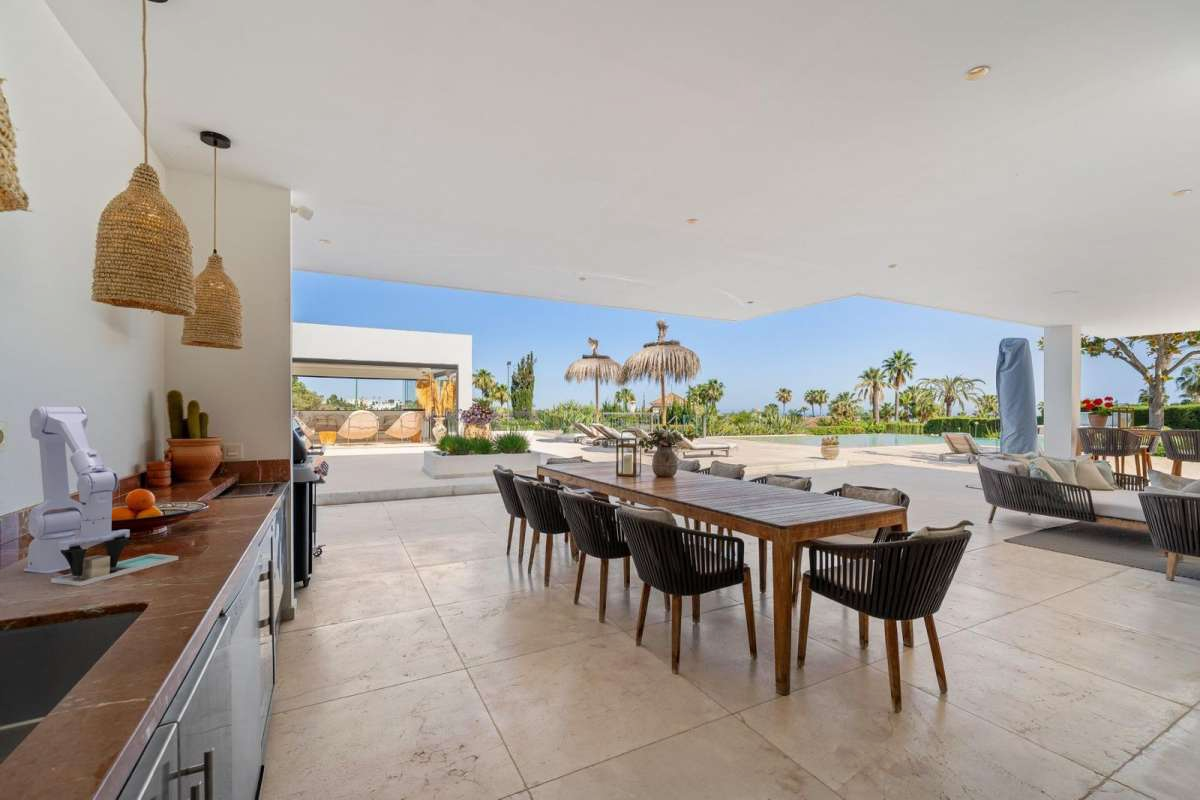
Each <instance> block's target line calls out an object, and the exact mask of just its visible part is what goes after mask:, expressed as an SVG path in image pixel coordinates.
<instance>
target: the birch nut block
mask: <svg viewBox="0 0 1200 800" xmlns="http://www.w3.org/2000/svg"><path fill="white" fill-rule="evenodd" d="M110 571H111V570H110V556H107V555H103V554H97V555H92V556H88V557H84V560H83V572H82V576H79V580H86V579H89V578H93V577H97V576H101V575H105V574H109V573H111V572H110Z"/></svg>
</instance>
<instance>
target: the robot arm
mask: <svg viewBox="0 0 1200 800" xmlns="http://www.w3.org/2000/svg"><path fill="white" fill-rule="evenodd" d="M30 413H31V414H30V416H29V427H30V428H29V429H30V433H31V438H33V439H34V440H35V439H36V440H37V441H38V443H39V444H38V445H39V446H38V447H39V453H40V454H39V455H40V468H41V469H40V470H41V481H42V491H43V492H42V493H43V494H42V495H43V501H41V502H40V503H39V504H37V505H36V506H34V507H33V508H31V510H30V511H29V519H28V522H27V523H28V524H27V528H28V533H29V534H30V536H32V537H33V538H34V539H32V540H31V542H30V543H29V545H28V548H27V549H28V550H27V551H28V554H27V568H24V569H23V572H29V573H36V574H37V573H40V574H53V573H58V572H61V571H65V570H70V571H71V573H72V574H73V576H79V577H80V576H82V572H83V560H84V558H85V556H86V553H87V549H86V548H83V546H88V545H93V544H99V543H103V542H104V545H105V549H106V556H110V567H116V565H117V562H119V559H120V556H121V554H122V552H123V550H124V549H125V547H126V546H127V545H128V544H129V538H130V532H131V531H130V530H131V529H127V528H126V529H125V528H124V529H118V530H112V523H113V522H112V518H113V517H112V516H113V515H112V514H113V493H114V492H116V491H117V490H118V487H119V476H118V475H117V472H116V471H115V470H112V469H111V467H107V466H106V464H105V462H104V460H103V457H102V456H101V454H100V451H99V450H97V449H95V448H92V447H91V444H90V441H89V439H88V435H87V432H86V427H87V425H88V424H87V423H88V421H89V420H88V419H89V414H88V411H87V410H86V409H85V407H83V406H42V405H38V406H36V407H35V408H34V409H33V410H32V411H31V412H30ZM66 445H67V446H68V448H69V449H70V451H71V452H72V455H71V456H70V458H69V461H70V463H71V465H72V467H73V469H74V472H75V473H76V476H77V478H78V479H77V483H76V490H77V492H78V501H77V500H76V499H75V500H74V499H73V498H71V496H70V494H71V493H70V485H69V473H68V462H67V451H66V449H67V448H66V447H67V446H66ZM79 534H80V536H77V535H79Z"/></svg>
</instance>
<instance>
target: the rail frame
mask: <svg viewBox="0 0 1200 800" xmlns="http://www.w3.org/2000/svg"><path fill="white" fill-rule="evenodd" d="M175 561H179V556H178V555H172V554H171V555H169V554H160V553H159V554H157V553H149V554H146V555H145V554H144V555H140V556H137V557H133V558H128V559H124V560H121V561H118V562H117V565H116V567H110V571H112V572H110V573H109V574H105V575H101V576H97V577H93V578H89V579H80V576H73V574H72V572H71V573H68V574H64V575H60V576H56V577H52V578H50V583H52V584H53V583H54V584H61V585H68V586H69V585H71V586H76V587H77V586H78V587H82V586H85V585H90V584H93V583H96V582H100V581H105V580H108V579H111V578H115V577H119V576H123V575H126V574H131V573H134V572H137V571H142V570H145V569H149V568H151V567H156V566H160V565H161V566H162V565H164V564H168V563H171V562H175ZM78 577H79V579H77V578H78Z"/></svg>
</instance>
